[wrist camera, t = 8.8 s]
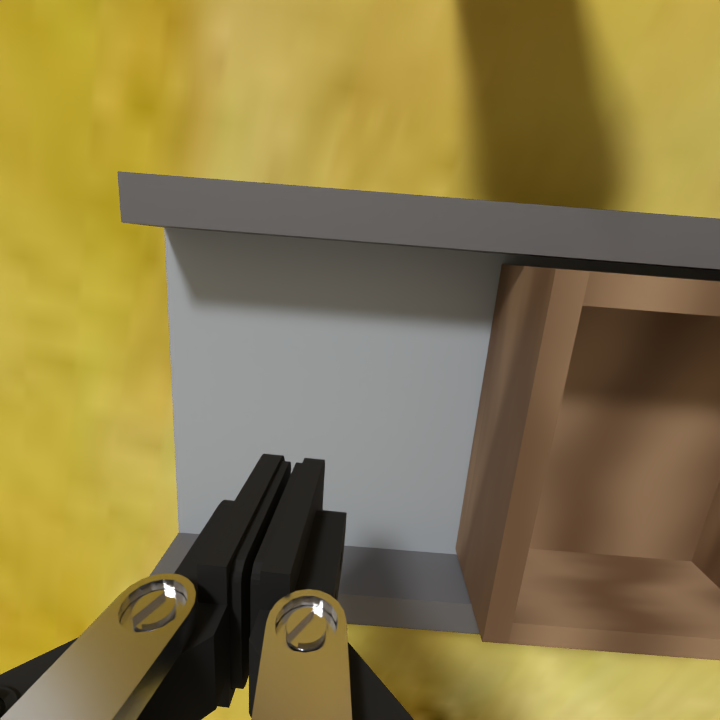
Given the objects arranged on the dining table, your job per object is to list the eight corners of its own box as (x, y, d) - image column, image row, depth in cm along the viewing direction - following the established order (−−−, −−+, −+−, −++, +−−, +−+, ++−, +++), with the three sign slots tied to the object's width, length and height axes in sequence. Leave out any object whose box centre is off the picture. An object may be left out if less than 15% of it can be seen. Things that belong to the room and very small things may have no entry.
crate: (791, 286, 17) (964, 301, 12) (693, 567, 20) (794, 666, 15) (501, 263, 17) (555, 269, 12) (455, 548, 20) (482, 641, 16)
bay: (828, 240, 17) (1007, 236, 12) (703, 585, 22) (797, 680, 17) (173, 189, 17) (98, 165, 12) (188, 545, 22) (137, 628, 17)
